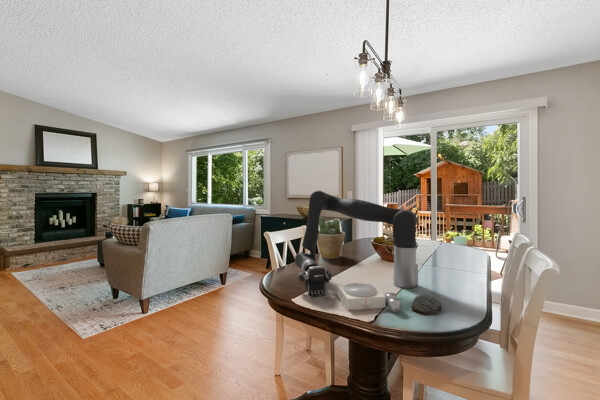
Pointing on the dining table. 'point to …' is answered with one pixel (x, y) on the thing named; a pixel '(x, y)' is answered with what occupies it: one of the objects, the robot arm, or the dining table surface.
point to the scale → (360, 296)
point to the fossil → (426, 305)
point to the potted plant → (330, 238)
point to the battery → (316, 281)
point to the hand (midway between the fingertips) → (317, 281)
